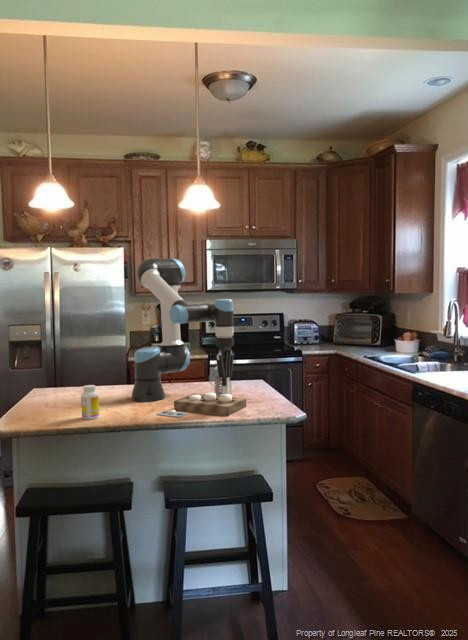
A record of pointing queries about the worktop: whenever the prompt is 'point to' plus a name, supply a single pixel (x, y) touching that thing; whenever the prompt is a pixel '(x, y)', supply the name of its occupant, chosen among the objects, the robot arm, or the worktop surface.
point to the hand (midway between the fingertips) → (225, 393)
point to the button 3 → (226, 398)
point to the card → (172, 413)
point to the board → (210, 405)
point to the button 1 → (195, 397)
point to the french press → (218, 383)
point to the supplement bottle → (89, 403)
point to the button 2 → (210, 397)
